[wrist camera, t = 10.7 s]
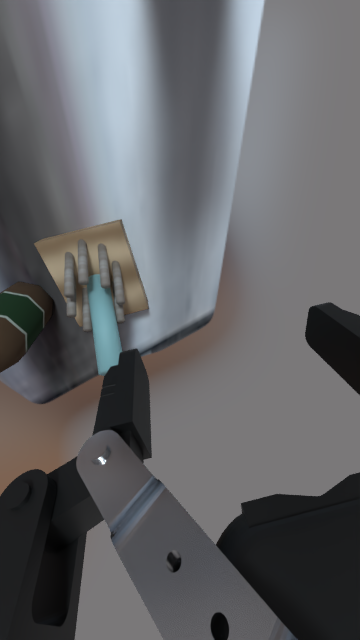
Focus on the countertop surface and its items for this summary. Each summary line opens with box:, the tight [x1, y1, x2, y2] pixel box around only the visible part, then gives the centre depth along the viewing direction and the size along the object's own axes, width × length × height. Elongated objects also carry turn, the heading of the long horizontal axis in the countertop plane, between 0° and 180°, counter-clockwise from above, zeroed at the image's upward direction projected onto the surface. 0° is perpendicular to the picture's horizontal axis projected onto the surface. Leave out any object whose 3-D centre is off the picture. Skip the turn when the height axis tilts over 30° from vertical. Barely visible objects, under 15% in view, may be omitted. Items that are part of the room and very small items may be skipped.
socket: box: [34, 219, 148, 332], centre depth 33 cm, size 14×12×9 cm
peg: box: [87, 274, 122, 376], centre depth 30 cm, size 3×3×14 cm
